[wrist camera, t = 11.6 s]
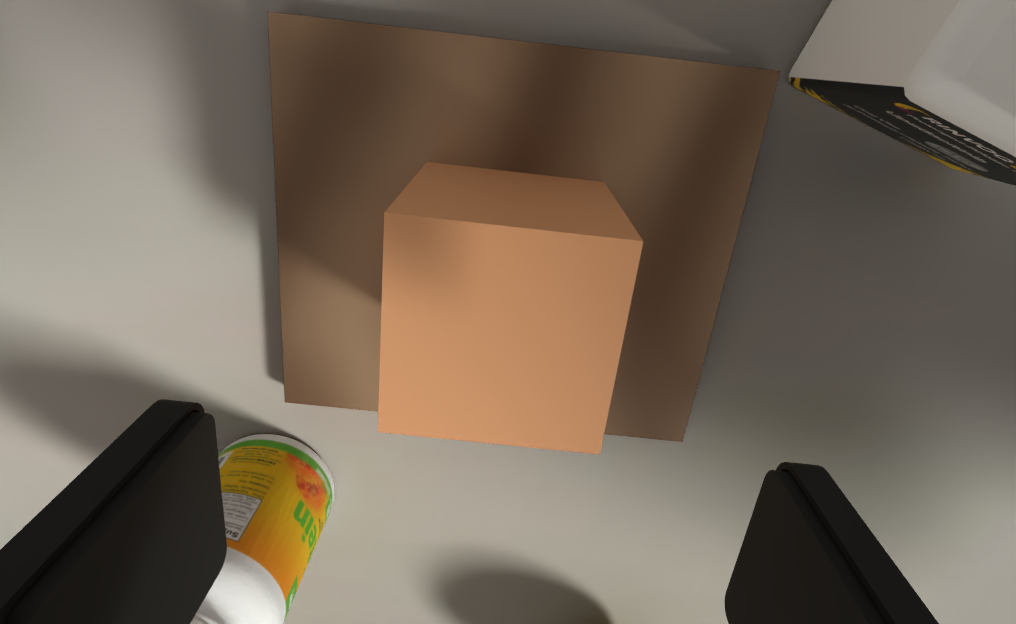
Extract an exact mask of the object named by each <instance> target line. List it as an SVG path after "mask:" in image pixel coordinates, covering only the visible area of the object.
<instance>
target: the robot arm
mask: <svg viewBox="0 0 1016 624" xmlns="http://www.w3.org/2000/svg"><path fill="white" fill-rule="evenodd" d="M226 552H227V540H226V530H225V520H224V510H223V500H222V490H221V479H220V469H219V459H218V449H217V439H216V429H215V421H214V418H213V416H212V415H211V414H208V413H205V412H204V409H203V407H202V405H201V404H199V403H193V402H183V401H173V400H158V401H157V402H155V403H154V404H153V405H152V406H150V407H149V408H148V409H147V410H146V411H145V412H144V413H143V414H142V415H141V416H140V417H139V418H138V419H137V420H136V421H135V422H134V423H133V424H132V425H131V426H130V427H128V428H127V429H126V430H125V431H124V432H123V433H122V434H121V435H120V436H119V437H118V438H117V439H116V440H115V441H114V442H113V443H112V444H111V445H110V446H109V447H108V448H106V449H105V450H104V451H103V452H102V453H101V454H100V455H99V456H98V457H97V458H96V459H95V460H94V461H93V462H92V463H91V464H90V465H89V466H88V467H87V468H86V469H84V470H83V471H82V472H81V473H80V474H79V475H78V476H77V477H76V478H75V479H74V480H73V481H72V482H71V483H70V484H69V485H68V486H67V487H66V488H65V489H64V490H62V491H61V492H60V493H59V494H58V495H57V496H56V497H55V498H54V499H53V500H52V501H51V502H50V503H49V504H48V505H47V506H46V507H45V508H44V509H43V510H42V511H40V512H39V513H38V514H37V515H36V516H35V517H34V518H33V519H32V520H31V521H30V522H29V523H28V524H27V525H26V526H25V527H24V528H23V529H22V530H21V531H20V532H18V533H17V534H16V535H15V536H14V537H13V538H12V539H11V540H10V541H9V542H8V543H7V544H6V545H5V546H4V547H3V548H2V549H1V550H0V624H190V623H191V621H192V620H193V618H194V616H195V614H196V613H197V611H198V609H199V608H200V606H201V604H202V602H203V601H204V599H205V597H206V595H207V594H208V592H209V590H210V589H211V587H212V585H213V583H214V582H215V580H216V578H217V576H218V575H219V573H220V571H221V569H222V567H223V564H224V561H225V558H226ZM725 612H726V616H727V620H728V623H729V624H939V623H938V622H937V621H936V619H935V618H934V617H933V615H932V614H931V612H930V611H929V610H928V608H927V607H926V606H925V604H924V603H923V602H922V600H921V599H920V597H919V596H918V595H917V593H916V592H915V591H914V589H913V588H912V587H911V585H910V584H909V582H908V581H907V580H906V578H905V577H904V576H903V574H902V573H901V572H900V570H899V569H898V567H897V566H896V565H895V563H894V562H893V561H892V559H891V558H890V557H889V555H888V554H887V552H886V551H885V550H884V548H883V547H882V546H881V544H880V543H879V541H878V540H877V539H876V537H875V536H874V535H873V533H872V532H871V531H870V529H869V528H868V526H867V525H866V524H865V522H864V521H863V520H862V518H861V517H860V516H859V514H858V513H857V511H856V510H855V509H854V507H853V506H852V505H851V503H850V502H849V501H848V499H847V498H846V496H845V495H844V494H843V492H842V491H841V490H840V488H839V487H838V486H837V484H836V483H835V481H834V480H833V479H832V477H831V476H830V475H829V473H828V472H827V471H826V470H825V469H824V468H823V467H821V466H818V465H809V464H799V463H789V462H784V463H781V464H780V465H779V466H778V467H777V469H776V470H771V471H769V472H768V473H767V474H766V476H765V478H764V481H763V484H762V487H761V490H760V493H759V496H758V499H757V502H756V505H755V508H754V511H753V514H752V517H751V520H750V523H749V526H748V529H747V532H746V535H745V537H744V540H743V543H742V546H741V549H740V552H739V555H738V558H737V561H736V564H735V567H734V570H733V573H732V576H731V579H730V582H729V585H728V588H727V591H726V595H725Z"/></svg>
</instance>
